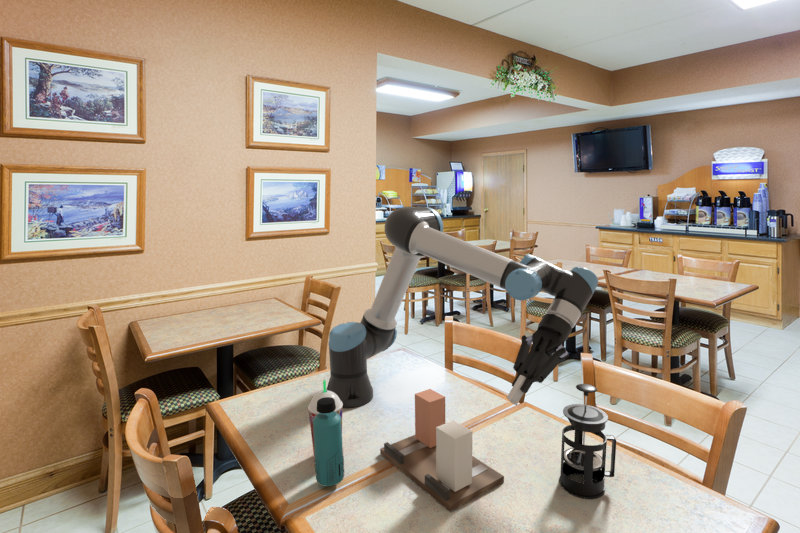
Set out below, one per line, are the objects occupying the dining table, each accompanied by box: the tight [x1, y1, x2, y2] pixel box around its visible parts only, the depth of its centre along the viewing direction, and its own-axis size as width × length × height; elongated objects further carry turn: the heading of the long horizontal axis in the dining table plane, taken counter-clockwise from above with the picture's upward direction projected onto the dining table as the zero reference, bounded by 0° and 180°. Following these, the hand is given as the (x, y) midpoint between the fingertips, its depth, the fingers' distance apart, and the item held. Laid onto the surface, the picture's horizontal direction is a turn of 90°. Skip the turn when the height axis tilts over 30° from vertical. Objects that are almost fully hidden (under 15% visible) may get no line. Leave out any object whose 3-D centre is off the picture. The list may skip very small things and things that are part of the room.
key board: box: [379, 434, 505, 513], centre depth 106 cm, size 16×26×4 cm, turn 35°
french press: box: [558, 383, 617, 500], centre depth 97 cm, size 12×9×23 cm
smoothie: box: [307, 379, 344, 457], centre depth 109 cm, size 8×8×20 cm
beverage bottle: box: [313, 397, 345, 487], centre depth 99 cm, size 6×7×20 cm
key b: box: [414, 388, 446, 448], centre depth 113 cm, size 5×6×12 cm
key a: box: [436, 420, 473, 492], centre depth 97 cm, size 5×6×12 cm
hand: (511, 401), depth 105 cm, fingers closed
